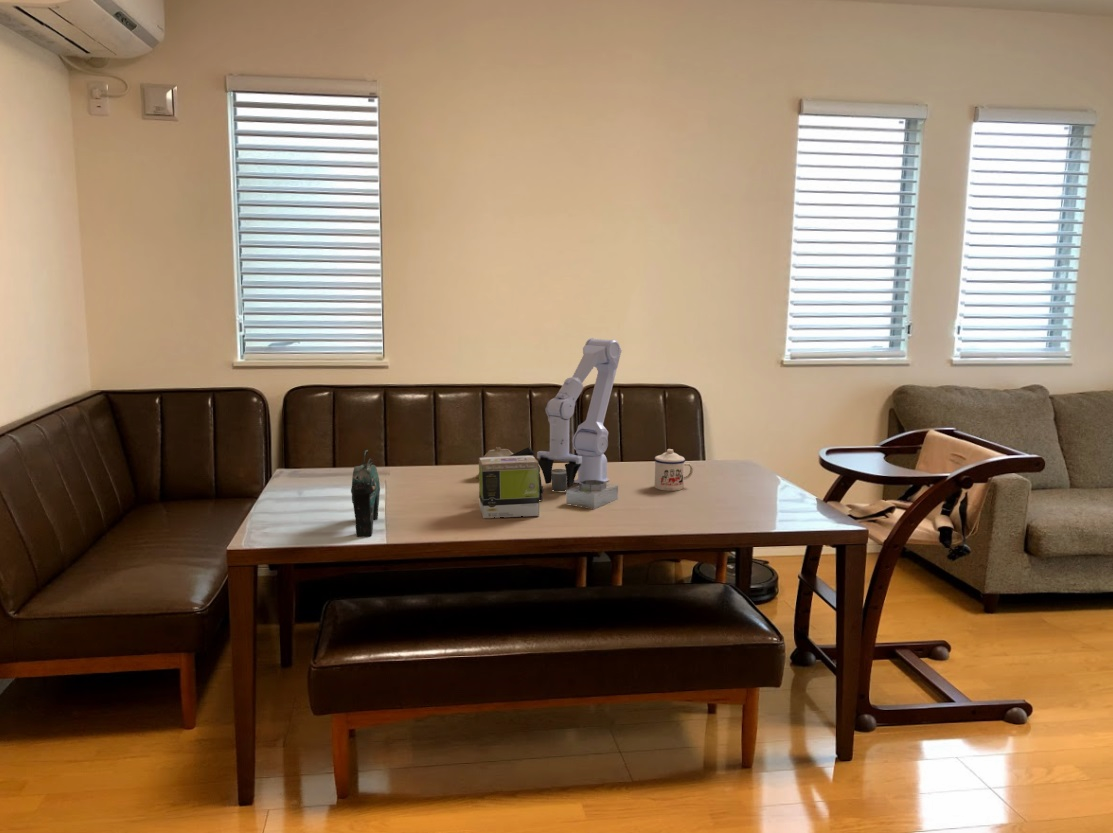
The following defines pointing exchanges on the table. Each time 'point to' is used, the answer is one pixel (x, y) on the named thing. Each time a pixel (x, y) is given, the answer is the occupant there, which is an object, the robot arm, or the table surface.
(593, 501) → the square base socket
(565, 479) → the cup
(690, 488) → the table surface
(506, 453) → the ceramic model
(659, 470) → the teacup with lid
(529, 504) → the tea box
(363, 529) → the ceramic cat
